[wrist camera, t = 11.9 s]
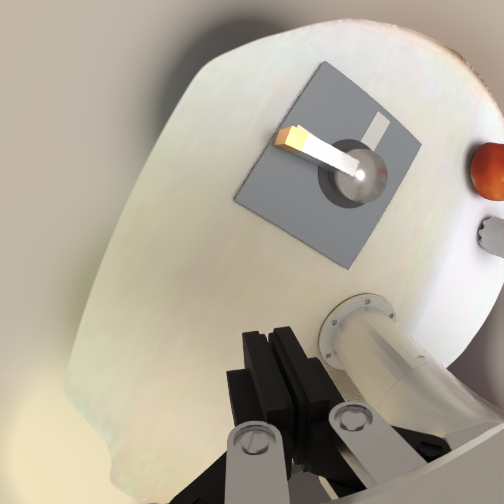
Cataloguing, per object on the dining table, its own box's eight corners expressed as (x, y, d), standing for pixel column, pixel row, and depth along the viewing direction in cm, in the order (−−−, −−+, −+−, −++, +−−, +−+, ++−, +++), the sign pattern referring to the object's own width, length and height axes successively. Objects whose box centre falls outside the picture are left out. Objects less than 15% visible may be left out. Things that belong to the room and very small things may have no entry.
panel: (416, 144, 38) (422, 144, 37) (344, 267, 41) (348, 270, 40) (321, 63, 33) (326, 60, 32) (233, 199, 36) (235, 200, 35)
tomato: (475, 208, 43) (510, 218, 35) (454, 164, 40) (492, 169, 32) (499, 173, 42) (533, 179, 35) (480, 130, 39) (515, 131, 32)
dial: (378, 162, 36) (401, 164, 32) (361, 206, 38) (382, 213, 33) (286, 113, 33) (300, 107, 28) (265, 162, 34) (276, 162, 30)
